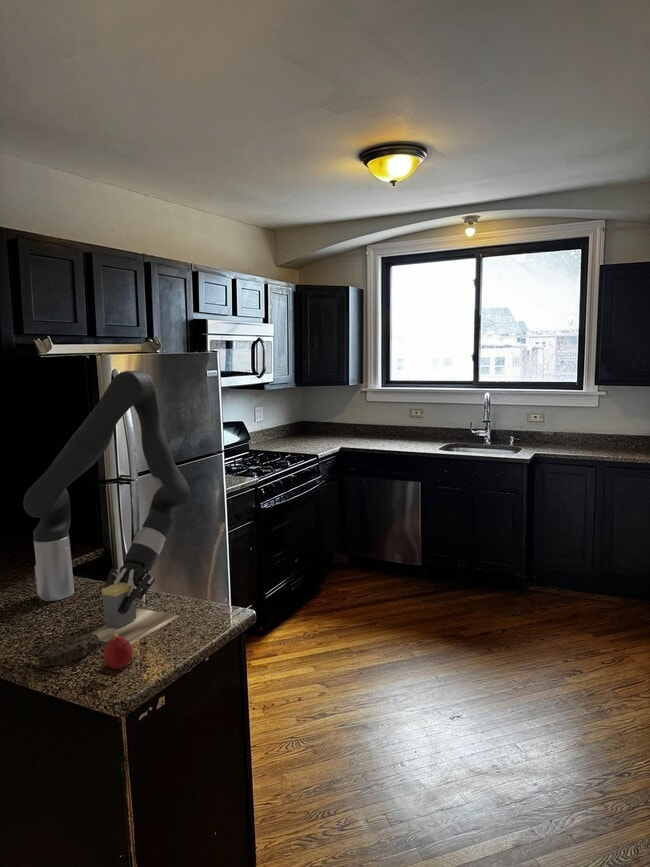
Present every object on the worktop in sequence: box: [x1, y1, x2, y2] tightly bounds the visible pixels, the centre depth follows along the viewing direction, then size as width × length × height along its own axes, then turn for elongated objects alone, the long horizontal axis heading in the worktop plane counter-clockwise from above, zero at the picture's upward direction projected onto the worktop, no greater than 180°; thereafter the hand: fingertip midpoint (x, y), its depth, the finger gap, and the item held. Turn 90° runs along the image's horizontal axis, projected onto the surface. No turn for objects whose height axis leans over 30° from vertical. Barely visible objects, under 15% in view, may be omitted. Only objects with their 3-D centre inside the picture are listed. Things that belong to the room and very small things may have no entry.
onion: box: [102, 634, 133, 670], centre depth 124 cm, size 6×6×8 cm
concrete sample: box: [36, 632, 101, 667], centre depth 131 cm, size 12×10×5 cm
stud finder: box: [101, 582, 137, 628], centre depth 145 cm, size 4×6×9 cm
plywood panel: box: [91, 608, 181, 645], centre depth 144 cm, size 14×18×1 cm
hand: (113, 611), depth 144 cm, fingers closed on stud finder, 4 cm apart
